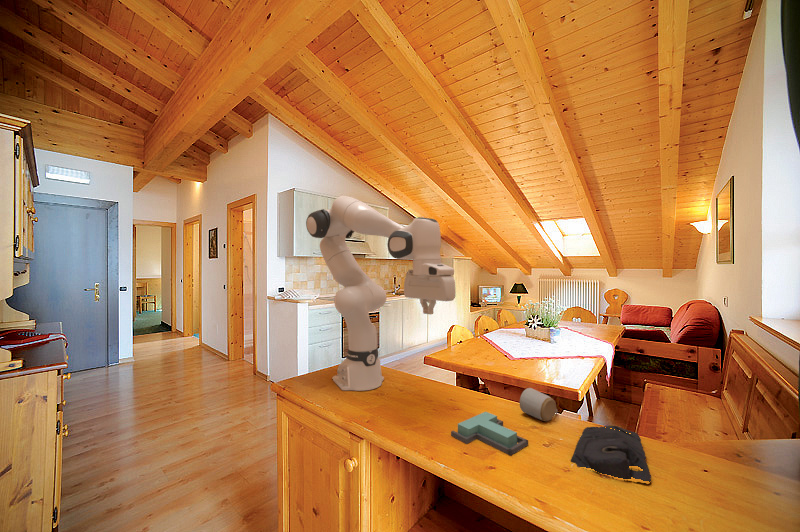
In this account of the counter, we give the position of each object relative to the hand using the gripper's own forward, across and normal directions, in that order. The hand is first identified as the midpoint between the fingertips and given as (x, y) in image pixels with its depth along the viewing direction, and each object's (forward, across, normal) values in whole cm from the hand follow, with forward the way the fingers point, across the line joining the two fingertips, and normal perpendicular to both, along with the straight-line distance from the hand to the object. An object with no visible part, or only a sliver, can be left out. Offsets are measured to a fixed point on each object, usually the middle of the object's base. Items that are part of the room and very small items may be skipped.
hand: (428, 313), depth 105 cm
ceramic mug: (+32, +22, +25) cm, 46 cm away
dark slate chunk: (+32, +44, +18) cm, 57 cm away
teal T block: (+31, +21, +3) cm, 38 cm away
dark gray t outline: (+31, +21, +3) cm, 38 cm away
